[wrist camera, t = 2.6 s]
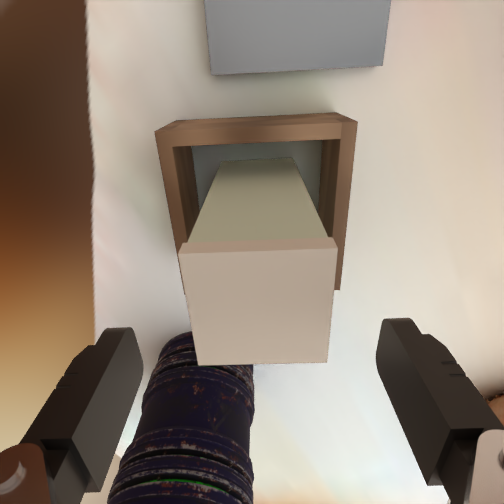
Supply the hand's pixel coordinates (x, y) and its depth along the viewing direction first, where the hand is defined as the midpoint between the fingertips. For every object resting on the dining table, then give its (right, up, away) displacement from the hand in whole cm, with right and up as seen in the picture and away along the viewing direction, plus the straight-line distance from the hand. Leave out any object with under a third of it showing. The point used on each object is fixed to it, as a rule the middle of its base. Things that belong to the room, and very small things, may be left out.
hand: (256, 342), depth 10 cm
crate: (0, +7, +13) cm, 15 cm away
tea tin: (0, +7, +13) cm, 15 cm away
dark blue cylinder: (-5, -9, +22) cm, 24 cm away
